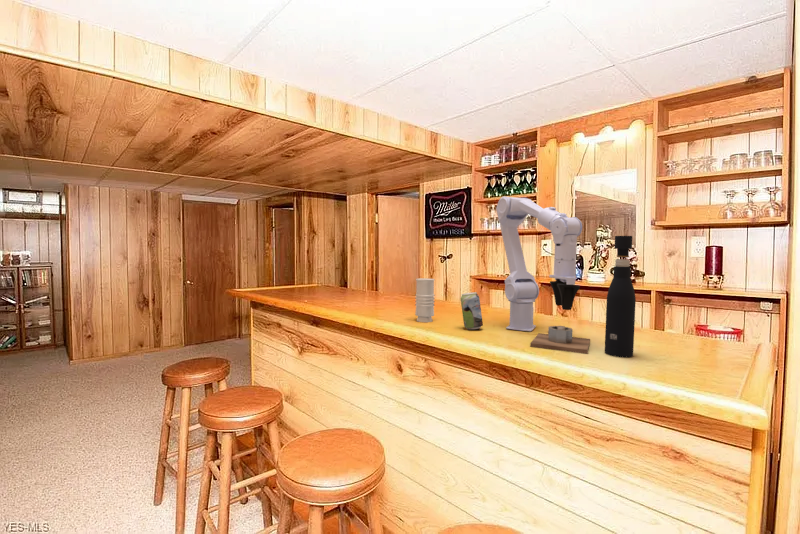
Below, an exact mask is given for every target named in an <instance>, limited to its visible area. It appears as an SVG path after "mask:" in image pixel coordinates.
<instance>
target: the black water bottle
mask: <svg viewBox="0 0 800 534" xmlns="http://www.w3.org/2000/svg"><path fill="white" fill-rule="evenodd" d="M614 249H615V250H617V254H616V257H617V258H615V260H614V262H615V263H614V265H615V266H613V277H612V279H611V283H610V284H609V287H608V290H607V295H606V305H605V306H606V307H605V309H606V310H605V311H606V312H605V331H604V333H605V335H604V336H605V337H604V354H606V355H608V356H611V357H616V358H617V357H618V358H632V357H634V346H635V345H634V344H635V323H636V322H635V321H636V301H637V300H636V298H637V297H636V293H635V289H634V288H635V287H634V285H633V281H632V278H631V274H632V273H631V271H632V270H631V269H632V267H631V261H630V259H626V258H629V257H630V256H629V252H630V250H632V249H633V235H615V236H614ZM619 258H620V259H619Z"/></svg>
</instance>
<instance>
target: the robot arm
mask: <svg viewBox="0 0 800 534" xmlns="http://www.w3.org/2000/svg"><path fill="white" fill-rule="evenodd" d="M495 209H496V214H497V219H498V223H499V225H500V232H501V236H502V242H503V246H504V251H505V255H506V259H507V264H508V269H509V275H508V276H507V277H506V278H505V279H504V285H505V286H504V294H505V297H506V299H507V301H508V302H509V325H508V326H506V329H507V330H515V331H523V332H532V331H533V330H534V329H535V328H536V327H537V325H536V324H534V303H536V300H537V298H538V297H539V295H540V287H539V285H538V283H537V282H536V279H535V276H534V275H533V274H532V273H530V272H529V271H528V270H527V266H526V265H527V264H526V261H525V257H524V252H523V248H522V243H521V239H520V235H519V230H518V227H519V226H520V225H522V224H523V222H524V221H525V219H526V218H527V216H528V215H530V216H531V217H533V218H534V219H535V218H536V219H537V223H538V224H539V225H540V226H542V227H544V228H546V229H547V230H549V231H550V234H551V236H552V239H553V243H554V257H553V258H554V260H553V261H554V262H553V274H549V275H548V276H549V278H551V279H554V280H553V281H549V283H550V285H551V288H552V290H553V291H552V292H553V297H554V302H555V305H556V306H560V307H561V308H562V311H563V310H565V311H571V310H572V309H573V308H572V307H573V304H574V301H575V298H576V294H577V293H578V292H579V290H580V288H581V285H576V280H577V275H576V273H577V272H576V269H577V249H578V248H577V247H578V244H577V243H578V237H579V236H580V235H581V233H582V231H583V224H582V221H581V220H580V219H579V218H578V217H576V216H572V217H568V215H567V213H565V212H559V211H558V210H557V208H556V207H554V206H549V207H544V208H543V207H542V206H540V205H538V204H537V203H535V202H534V201H533V200H532V199H531V198H528V197H512V196H507V195H506V196H505V195H504V196H501V197H500V199H499V200H498V202H497V204H496V207H495Z"/></svg>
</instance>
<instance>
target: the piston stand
mask: <svg viewBox="0 0 800 534" xmlns="http://www.w3.org/2000/svg"><path fill="white" fill-rule="evenodd" d="M557 326H558V330H565V327H566V326H565V325H557ZM590 343H591V338H585V337H579V336H578V337H576V336H572V343H567V344H564V343H555V342H551V341H549V340H548V333H541V332H540V333H539V332H538V333H537V334H536V336H535V337H534V338H533V339H532V341H531V342H530V343H529V345H530V347H531V348H539V349H546V350H553V351H554V350H555V351H561V352H562V351H563V352H568V353H570V352H571V353H578V354H586V355H588V354H589V348H590Z"/></svg>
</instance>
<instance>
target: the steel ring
mask: <svg viewBox="0 0 800 534" xmlns="http://www.w3.org/2000/svg"><path fill="white" fill-rule="evenodd" d="M558 326H559V325H553V326H552V325H551V326H550V325H549V326H548V331H547V332H548V333H547V334H548V340H549V341H551V342H555V343H564V344H567V343H572V337H573V332H574V331H573V328H572V327H568V326H565V330H558Z"/></svg>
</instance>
